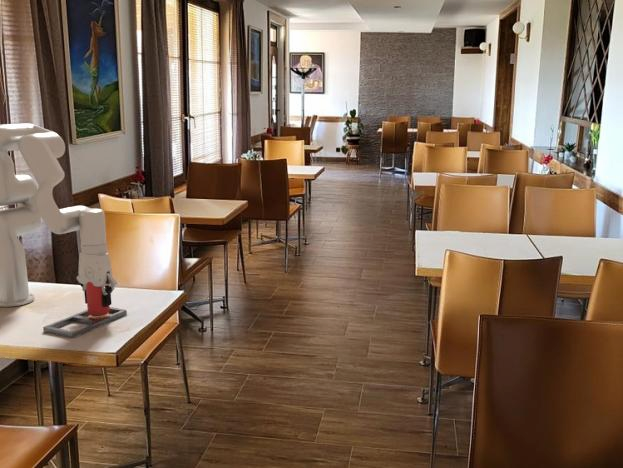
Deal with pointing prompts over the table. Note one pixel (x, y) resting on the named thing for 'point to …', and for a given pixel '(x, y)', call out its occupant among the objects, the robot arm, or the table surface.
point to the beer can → (95, 300)
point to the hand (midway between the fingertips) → (98, 303)
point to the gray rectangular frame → (81, 318)
